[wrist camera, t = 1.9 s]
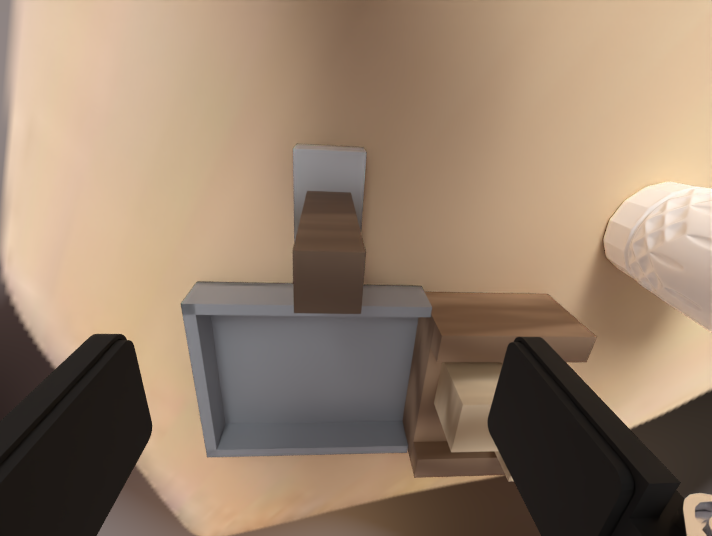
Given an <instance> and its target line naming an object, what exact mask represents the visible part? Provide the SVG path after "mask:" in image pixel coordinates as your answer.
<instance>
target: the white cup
mask: <svg viewBox="0 0 712 536" xmlns="http://www.w3.org/2000/svg"><path fill="white" fill-rule="evenodd" d="M603 242H604V248H605V254H606V257H607V258H608V259H609V260H610V261H611V262H612V263H613V264H614V265H615V266H616V267H617V268H618V269H619V270H621V271H622V272H624V273H625V274H627V275H628V276H630V277H632V278H633V279H635V280H636V281H637V282H638V283H639V284H640V285H641V286H643V287H644V288H646V289H647V290H649V291H650V292H652V293H653V294H655V295H656V296H657V297H659V298H660V299H661V300H663V301H664V302H666V303H667V304H669V305H670V306H672V307H673V308H675V309H676V310H678V311H679V312H681V313H682V314H684V315H685V316H687V317H689V318H690V319H692V320H693V321H695V322H696V323H698V324H699V325H701V326H702V327H704V328H705V329H707V330H708V331H710V332H711V333H712V188H704V187H697V186H691V185H686V184H680V183H675V182H664V183H659V184H655V185H651V186H647V187H644V188H643V189H641V190H640V191H638V192H637V193H635V194H634V195H632V196H631V197H629V198H628V199H626V200H625V201H624V202H623V203H622V204H621V206H620V207H619V208H618V209H617V211H616V212H615V213H614V215H613V216H612V217H611V218H610V220H609V223H608V226H607V229H606V232H605V235H604V238H603Z"/></svg>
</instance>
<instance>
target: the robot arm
mask: <svg viewBox="0 0 712 536" xmlns="http://www.w3.org/2000/svg"><path fill="white" fill-rule="evenodd" d="M487 424H488V430H489V433H490V435H491V437H492V439H493V441H494V443H495V445H496V447H497V449H498V451H499V453H500V455H501V457H502V459H503V461H504V463H505V465H506V467H507V469H508V471H509V473H510V475H511V477H512V479H513V481H514V482H515V484H516V486H517V488H518V490H519V492H520V494H521V496H522V498H523V500H524V502H525V504H526V506H527V508H528V510H529V512H530V514H531V516H532V518H533V520H534V522H535V524H536V526H537V528H538V530H539V532H540V534H541V536H712V495H709V494H703V493H697V494H691V495H689V496H688V497H687V498H686V499H684V498H683V497H682V496H681V495H680V493H679V492H678V491H677V490H676V489H677V488H678V486H679V484H680V482H679V481H678V479H676V477H675V476H674V475H673V474H672V473H671V472H670V471H669V470H668V469H667V468H666V467H665V466H664V465H663V464H662V463H661V462H660V461H659V459H658V458H657V457H656V456H655V455H654V454H653V453H652V452H651V451H650V450H649V449H648V448H647V447H646V446H645V445H644V444H643V443H642V442H641V441H640V440H639V439H638V437H637V436H636V435H635V434H634V433H633V432H632V431H631V430H630V429H629V428H628V427H627V426H626V425H625V424H624V423H623V422H622V421H621V420H620V419H619V418H618V416H617V415H616V414H615V413H614V412H613V411H612V410H611V409H610V408H609V407H608V406H607V405H606V404H605V403H604V402H603V401H602V400H601V399H600V398H599V397H598V395H597V394H596V393H595V392H594V391H593V390H592V389H591V388H590V387H589V386H588V385H587V384H586V383H585V382H584V381H583V380H582V379H581V378H580V377H579V376H578V375H577V373H576V372H575V371H574V370H573V369H572V368H571V367H570V366H569V365H568V364H567V363H566V362H565V361H564V360H563V359H562V358H561V357H560V356H559V355H558V354H557V353H556V351H555V350H554V349H553V348H552V347H551V346H550V345H549V344H548V343H547V342H546V341H545V340H544V339H543V338H541V337H516V338H515V340H514V342H511V343H509V344H508V347H507V350H506V353H505V357H504V361H503V364H502V368H501V372H500V375H499V379H498V383H497V386H496V390H495V394H494V397H493V401H492V405H491V408H490V412H489V415H488V420H487ZM151 432H152V421H151V417H150V413H149V408H148V404H147V400H146V395H145V391H144V387H143V382H142V378H141V374H140V369H139V365H138V361H137V357H136V352H135V348H134V344H133V343H132V341H130V340H127V339H126V337H125V336H124V335H122V334H94V335H92V336H91V337H89V338H88V339H87V340H86V341H85V342H84V343H83V344H82V345H81V346H80V347H79V348H78V349H76V350H75V351H74V352H73V353H72V354H71V355H70V356H69V357H68V358H67V359H66V360H65V361H64V362H63V363H62V364H61V365H59V366H58V367H57V368H56V369H55V370H54V371H53V372H52V373H51V374H50V375H49V376H48V377H47V378H46V379H45V380H44V381H43V382H41V384H39V385H38V386H37V387H36V388H35V389H34V390H33V391H32V392H31V393H30V394H29V395H28V396H26V398H25V399H24V400H22V401H21V402H20V403H19V404H18V405H17V406H16V407H15V408H14V409H13V410H12V411H11V412H9V413H8V414H7V415H6V416H5V417H4V418H3V419H2V420H1V421H0V536H97V534H98V532H99V530H100V528H101V527H102V525H103V523H104V521H105V519H106V517H107V516H108V514H109V512H110V510H111V508H112V506H113V505H114V503H115V501H116V499H117V497H118V496H119V494H120V492H121V490H122V488H123V486H124V485H125V483H126V481H127V479H128V477H129V475H130V474H131V472H132V470H133V468H134V466H135V465H136V463H137V461H138V459H139V457H140V455H141V454H142V452H143V450H144V448H145V446H146V444H147V443H148V441H149V439H150V436H151Z"/></svg>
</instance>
